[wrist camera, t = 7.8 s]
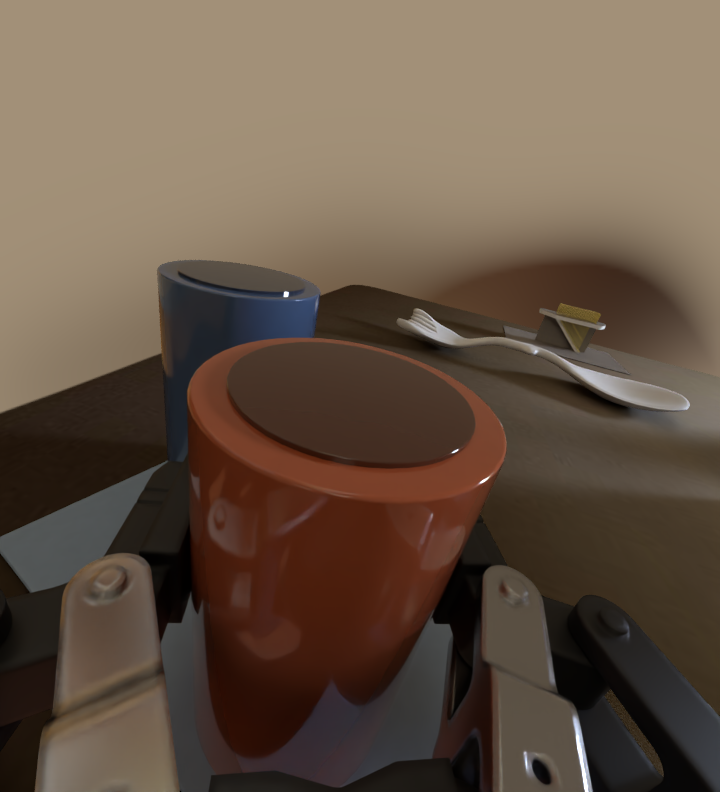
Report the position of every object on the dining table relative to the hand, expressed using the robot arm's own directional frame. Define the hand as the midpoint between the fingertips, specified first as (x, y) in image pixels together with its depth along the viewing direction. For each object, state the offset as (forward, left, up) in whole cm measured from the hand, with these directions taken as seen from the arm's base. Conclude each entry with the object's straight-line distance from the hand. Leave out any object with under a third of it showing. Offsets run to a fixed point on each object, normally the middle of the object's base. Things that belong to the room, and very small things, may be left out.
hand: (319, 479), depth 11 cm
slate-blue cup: (+3, +6, -6) cm, 9 cm away
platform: (+60, -4, -6) cm, 61 cm away
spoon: (+39, -2, -6) cm, 40 cm away
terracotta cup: (-2, -2, -6) cm, 6 cm away
